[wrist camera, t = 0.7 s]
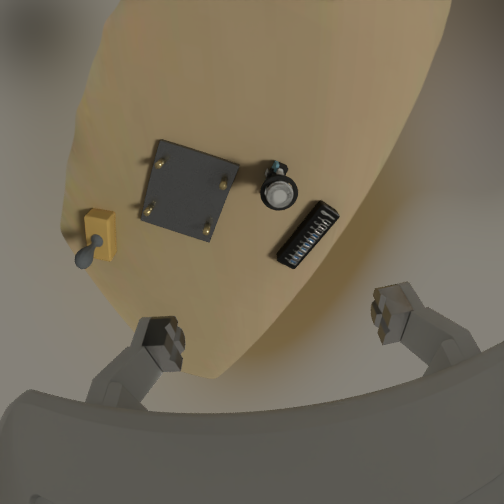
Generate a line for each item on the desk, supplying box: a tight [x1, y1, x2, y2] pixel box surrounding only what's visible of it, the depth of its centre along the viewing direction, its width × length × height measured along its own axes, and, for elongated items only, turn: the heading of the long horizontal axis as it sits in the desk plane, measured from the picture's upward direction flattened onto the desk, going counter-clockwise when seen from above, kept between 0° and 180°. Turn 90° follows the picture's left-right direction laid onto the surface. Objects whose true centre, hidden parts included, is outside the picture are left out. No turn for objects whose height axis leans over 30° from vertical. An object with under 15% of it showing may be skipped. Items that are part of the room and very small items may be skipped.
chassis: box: [141, 139, 239, 242], centre depth 46 cm, size 16×14×4 cm
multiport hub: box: [277, 200, 339, 269], centre depth 52 cm, size 4×14×2 cm, turn 148°
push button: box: [260, 160, 298, 210], centre depth 42 cm, size 7×5×10 cm
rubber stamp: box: [75, 208, 117, 269], centre depth 46 cm, size 10×6×12 cm, turn 167°
